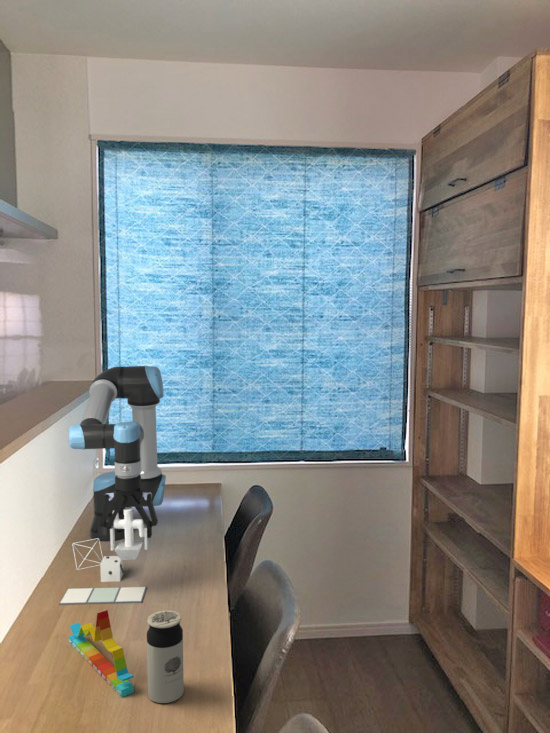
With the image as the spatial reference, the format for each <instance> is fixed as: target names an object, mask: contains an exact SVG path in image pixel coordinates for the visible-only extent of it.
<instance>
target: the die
mask: <svg viewBox="0 0 550 733" xmlns="http://www.w3.org/2000/svg"><path fill="white" fill-rule="evenodd" d="M101 560H102V561H101V562H100V563H99V567H100V570H99V571H100V582H101V583H108V582H109V583H111V582H113V583H114V582H116V583H117V582H121V580H122V578H123V575H124V573H125V572H124V571H125V570H124V560H121V559H120V558H119V556H118V555H109V556H108V555H107V556H105V555H104V556H103V559H101Z"/></svg>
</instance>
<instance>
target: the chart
mask: <svg viewBox="0 0 550 733" xmlns="http://www.w3.org/2000/svg"><path fill="white" fill-rule="evenodd" d="M109 616H110V615H109V611H108V609H106V610H103V611H100V612H97V615H96V622H95V626H93V623H92V622H88V623H85V624H81V623H80V622H76V623H72V624H70V625H69V628H70V631H71V632H72V635H69V636H68V643H69V644H70V645H71V646H72V647H73V648H74V649H75V650H76V651H77V652H78V653H79V655H81V657H82V658H84V660H85V661H86V662H87V663H88V664H89V665H90V666H91V667H92V668H93V669H94V670H95V672H97V673H98V674H99V676H100V677H101V678H102V679H104V681H105V682H106V683H107V684H108V685H109V686H110V687H111V688H112V689H113V690H114V691H115V692H116V693H117V694H118V695H119V696H120V697H121V698H124V697H126V696H128V695H130V694H134V684H133V683H131V681H129V679H131V678H134V675H133V674H132V673H130V672H129V670H128V665H127V663H126V658H125V653H124V648H123V647H122V646H120V645H118V643H117V642H116V640H115V639H114V636H113V630H112V625H111V622H110V617H109ZM88 636H91V638H92V641H93V643H96V642H100V641H102V644H103V646H104V647H105V649H106V650H107V651H108V652H109V653H111V654H112V658H113V664H114V665H113V664H112V663H111V662H110V661H109V660H108V659H107V658H106V657H105V656H104V655H103V654H102V653H101V652H100V650H98V649H97V648H96V647H95V646H94V645H93V644H92V643H91V642H90V641H89V640H88V639H87V638H86V637H88Z"/></svg>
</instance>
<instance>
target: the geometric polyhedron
mask: <svg viewBox="0 0 550 733" xmlns="http://www.w3.org/2000/svg"><path fill="white" fill-rule="evenodd" d="M97 539H99V538H97ZM94 540H95V539H92V538H91V541H94ZM88 541H90V539H88V540H83V541H77V542H72V545H71V546H72V551H73V555H74V562H75V567H76V570H77V571H79V570H83V569H85V567H83V568H80V567H81V566H82V564H83V562H84V561H90V562H94V563H97V564H96V565H92V566H91V565H90V566H87V567H86V569H89V568H93V567H97V566H98V567H99V564H100V562H99V561H95V560H91V559H87V557H88V556H89V555H90V552H92V550H93V552H94V553H95V554H96V556H97V558H98V559H99V560H100V561H101V562H102V560H103V558H104V556H103V552H102V546H101V541H99V540H95V543H94V544H93V546H92V547H89V546H86V545H82V544H78V543H83V542H88ZM97 542H98V543H99V548H100V552H101V558H102V559H101V558H100V556H99V555H98V553H97V552H96V550H94V547H95V546H96V544H97ZM76 546H80V547H84V548H89V549H90V550H89V551H88V552H87V554H86V556H85V557H84V556H83V555H82V554H81V553H80V551H79V549H78V548H77V547H76ZM75 550H76V551H77V552H78V553H79V555H80V556H81V557H82V562H81V563H80V565H79V566H78V565H77V560H76V553H75Z"/></svg>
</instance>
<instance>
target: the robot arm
mask: <svg viewBox="0 0 550 733" xmlns="http://www.w3.org/2000/svg"><path fill="white" fill-rule="evenodd" d="M162 377H163V376H162V373H161V370H160V369H159V367H157V366H150V365H137V366H136V365H135V366H133V365H130V366H113V367H110V368H107V369H106V370H104V371H102V372H101V373H99V374H98V375H97V376H96V377H95V378H94V380H92V382H91V384H90V387H89V390H88V391H89V392H88V393H89V399H88V400H87V404H86V407H85V410H84V412H83V414H82V417H81V421H80V423H77V424H73V425H71V426H70V427H69V430H68V444H69V447H70V448H71V449H73V450H82V451H83V450H99V449H100V450H102V449H104V450H105V449H114V471H113V470H112V471H108V472H104V473H102V474H99V475H97V476H96V477H95V478H94V479H93V489H92V492H93V511H94V512H93V519H92V522H91V525H90V529H89V537H90V539H91V540H92V539H95V541H97V540H98V542H99V541H100V542H101V541H102V542H110V551H112V552H113V551H115V548H116V544H115V543H116V542H115V541H118V540H119V541H120V540H121V539H125V529H116V528H114V527H113V521H114V519H115V517H116V515H117V513H118V516H119V519H124V511H123V510H124V509H125V508H126V507H132V508H135V509H136V510H137V513H138V514H139V516H140V519H142V520H143V521H144V523H145V528H144V537H143V538H144V551H145V550H146V551H148V548H149V539H151V537H152V536H153V527H155V526H157V525H158V522H159V521H158V516H157V513H156V510H155V507H158V506H159V507H160V506H161V505H162V504H163V503H164V497H165V496H164V494H165V487H166V480H167V479H166V477H167V476H166V474H163V471H162V469H161V468H160V467H159V465H158V443H157V441H158V439H157V438H158V437H157V406H158V405H159V404H160V400H161V399H163V398H164V394H165V392H164V382H163V378H162ZM116 399H121V400H122V399H123V400H124V399H126V400H127V405H128V406H130V408H131V413H132V414H131V417H132V419H131V421H123V422H119V423H107V419H108V416H109V413H110V409H111V406H112V403H113V402H114V401H115V400H116ZM145 507H147V508H148V512H149V516H148V514H147V512H146V510H145ZM113 511H114V512H113ZM150 518H151V519H150ZM97 538H99V539H97Z"/></svg>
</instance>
